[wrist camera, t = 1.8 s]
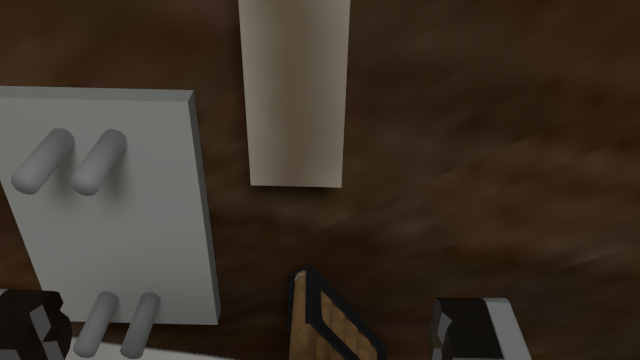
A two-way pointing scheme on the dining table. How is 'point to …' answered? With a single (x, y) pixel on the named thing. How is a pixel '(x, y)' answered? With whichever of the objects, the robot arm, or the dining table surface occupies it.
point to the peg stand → (112, 206)
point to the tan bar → (295, 89)
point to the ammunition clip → (326, 323)
